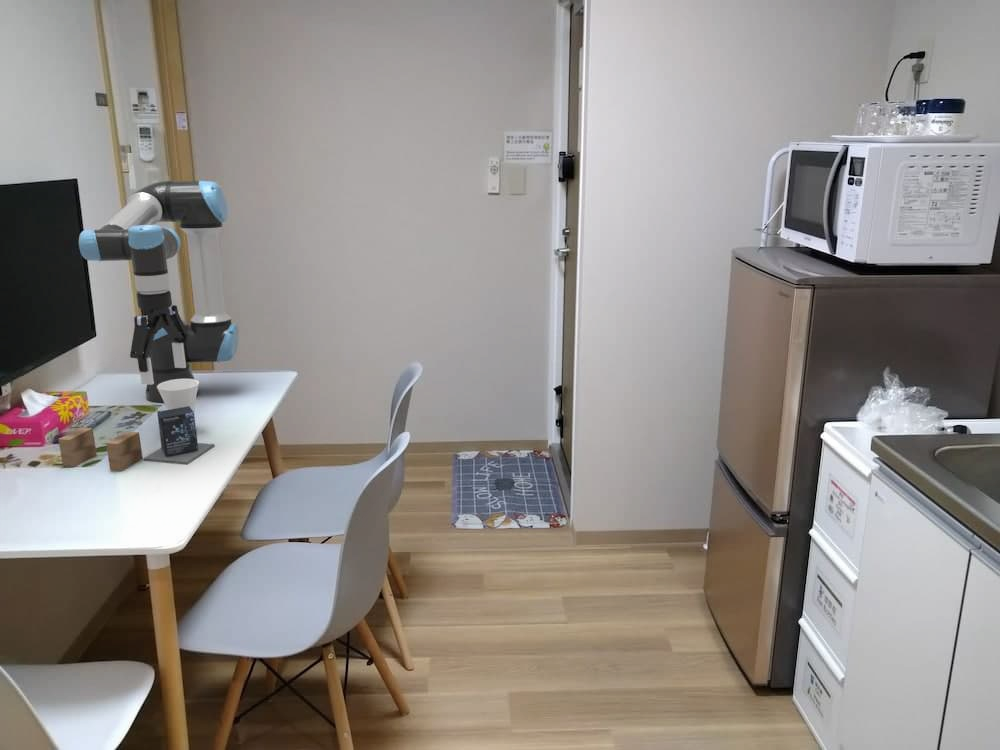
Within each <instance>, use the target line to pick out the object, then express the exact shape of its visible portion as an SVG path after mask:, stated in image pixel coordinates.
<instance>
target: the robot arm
mask: <svg viewBox="0 0 1000 750" xmlns="http://www.w3.org/2000/svg"><path fill="white" fill-rule="evenodd" d="M227 220H228V206H227V201H226V197H225V194H224V192H223V190H222V188H221V186H220V184H218V183H217V182H215V181H209V180H206V181H205V180H186V181H185V180H183V181H182V180H179V181H178V180H177V181H176V180H173V181H172V180H171V181H170V180H163V181H157V182H154V183H151V184H149V185H146V186H144V187H142V188H140V189H138V190H137V191H135V192H134V193H132V194H131V195H130V196H129V197H128V199H127V200H126V203H125V206H124V207H123V208H122V209H120V211H118V212H117V213H116V214H115V215H114V216H113V217H112V218H111V219H109V221H107V222H106V223H105V224H104V225H103V226H102V227H100V229H86V230H82V231H81V232H80V234H79V237H78V246H79V251H80V255H81V256H82V257H83V259H85V260H87V261H95V262H97V261H98V262H107V261H108V262H114V261H115V262H116V261H131V264H132V269H133V270H132V271H133V276H134V283H135V290H136V292H137V293H136V301H137V306H138V309H141V310H142V313H143V314H142V315H141V316H138V315H135V316H134V318H133V321H134V328H133V335H132V341H131V347H130V354H129V357H130V358H131V359H136V360H137V364H138V365H137V366H138V371H139V374H140V378H141V380H140V381H141V384H142V385H146V389H145V396H146V400H148V401H150V402H154V403H164V401H163V399H162V397H161V395H160V393H159V391H158V389H157V385H159V384H160V383H162V382H165V381H169V380H175V379H195V380H196V378H195V377H194V374H193V373H192V370H191V366H190V363H220V362H230V361H232V360H233V359H234V358H235V356H236V354H237V351H238V346H239V345H238V344H239V327H238V324H236V323H234V322H232V318H231V316H230V315H229V314H228V313H227V312H226V309H225V298H224V289H223V287H224V286H223V279H222V277H223V276H222V268H221V267H222V265H221V257H220V249H219V248H220V246H219V245H220V244H219V237H218V236H219V235H218V234H219V232H220V231H221V230H222V229H223V223H224V222H226V221H227ZM163 222H164V223H165V222H166V223H170V222H172V223H179V226H180V230H181V231H183V232H184V233H185V234H186V240H187V250H188V258H189V259H188V260H189V269H190V270H189V271H190V279H191V289H192V296H193V306H194V315H193V316H192V317H191V318H190V324H186V322H185V320H184V319H182V318H181V315H180V314H179V310H178V306H177V305H176V304H175V305H174V304H173V299H172V292H171V291H170V289H171V284H170V283H171V282H170V276H169V269H168V261H167V260H168V259H171V258H174V257H175V256H176V254H178V252H179V250H180V248H181V245H182V243H181V239H180V236H179V235H178V233H177V232H175V231H174V230H173V229H172V228H169V227H161V226H160V225H157V223H163ZM199 390H200V389H199V388H198V390H197V395H198V394H200V393H199V392H200V391H199Z"/></svg>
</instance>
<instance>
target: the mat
mask: <svg viewBox="0 0 1000 750" xmlns="http://www.w3.org/2000/svg"><path fill="white" fill-rule="evenodd" d="M197 443H198V451H193V452H187V453H182V454H177V455H171V456H168V457H166V456H165V454H164V453H163V451H162V448H161V447H160V448H158V449H156V450H155V451H153V452H151V453H150V454H148V455H146V456H144V457H143V459H142V460H143V461H145V462H155V463H157V462H158V463H167V464H168V463H169V464H178V465H179V464H180V465H189V464H191V463H192V462H194V461H195V460H196V459H198V458H199V457H201V456H202V455H204V454H205V453H207V452H208V451H210V450H212V449H213V448H215V443H206V442H205V443H204V442H197Z"/></svg>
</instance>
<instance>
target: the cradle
mask: <svg viewBox="0 0 1000 750" xmlns="http://www.w3.org/2000/svg"><path fill="white" fill-rule="evenodd" d="M57 439H58V445H59V446H58V447H59V451H60V457H61V462H62V466H63V467H71V468H74V467H76V466H79V465H80V464H82V463H84V462H86V461H87V460H89V459H91V458H93V457H95V456H97V447H96V441H95V436H94V430H93V428H92V427H89V428H88V427H80V428H78V429H76V430H74V431H71V432H70V433H68V434H66V435H63V436H62V437H60V438H57ZM141 443H142V442H141V437H140V432H139V431H129V430H128V431H126V432H124V433H122V434H120V435H119V436H116V437H115V438H113V439H111V440H109V441H107V442H106V443H105V445H106V452H107V457H108V458H107V459H108V463H109V471H113V472H123V471H125V470H127V469H128V468H129V467H131V466H133V465H135V464H136V463H138V462H140V461H141V460H144V459H143V458H144V457H143V450H142V444H141Z"/></svg>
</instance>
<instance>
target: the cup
mask: <svg viewBox="0 0 1000 750" xmlns="http://www.w3.org/2000/svg"><path fill="white" fill-rule="evenodd" d="M199 383H200V382H199V380H197V379H196V378H195V379H175V380H169V381H165V382H162V383H160V384H159V385H157V389H158V391H159V393H160V395H161V397H162V399H163V401H164V402H163V403H164V405H165V407H166V410H170V409H176V408H182V407H187V406H189V407H190V408H191V409H192V411H193V412H194V413H195V405H196V398H197V395H198V394H197V390H198V389H199ZM195 425H196V423H195ZM196 426H197V425H196ZM196 431H197V428H196Z"/></svg>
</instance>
